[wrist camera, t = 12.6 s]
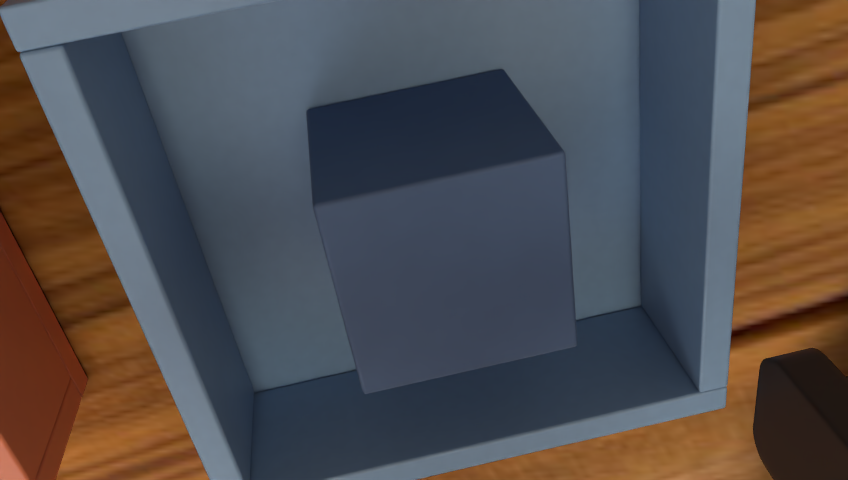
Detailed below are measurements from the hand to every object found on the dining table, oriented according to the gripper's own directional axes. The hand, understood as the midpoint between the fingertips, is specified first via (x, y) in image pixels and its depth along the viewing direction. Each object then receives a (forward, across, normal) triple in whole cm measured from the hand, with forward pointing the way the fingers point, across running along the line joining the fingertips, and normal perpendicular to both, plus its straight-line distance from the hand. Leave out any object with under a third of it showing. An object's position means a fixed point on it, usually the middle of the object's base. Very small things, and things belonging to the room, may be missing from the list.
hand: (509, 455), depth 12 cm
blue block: (+10, 0, 0) cm, 10 cm away
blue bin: (+11, 0, 0) cm, 11 cm away
